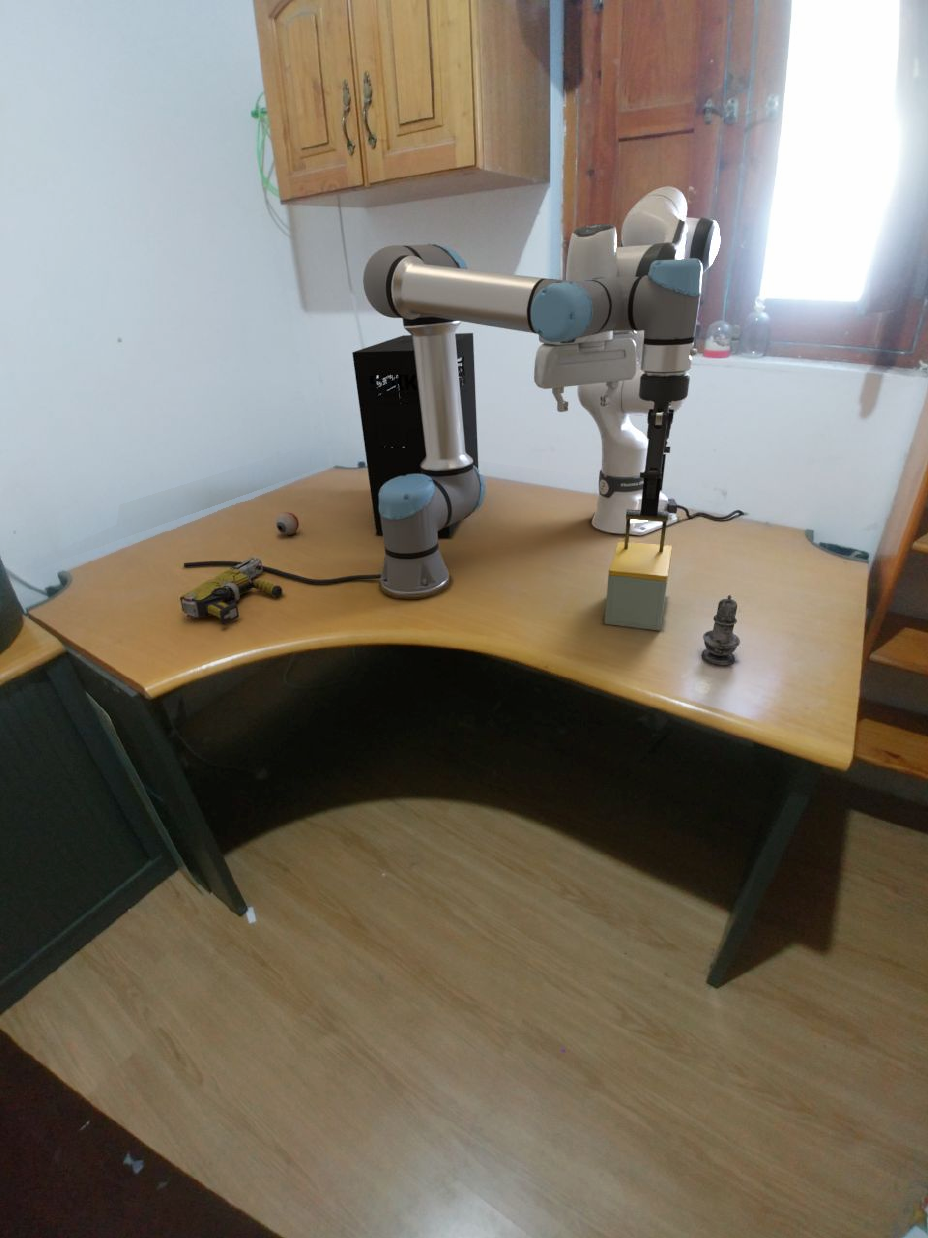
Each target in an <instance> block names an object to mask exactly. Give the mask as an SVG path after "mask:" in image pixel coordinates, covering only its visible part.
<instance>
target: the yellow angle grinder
mask: <svg viewBox="0 0 928 1238" xmlns="http://www.w3.org/2000/svg"><path fill="white" fill-rule="evenodd" d="M241 562H242V563H240V564H238V565H234V566H231V567H230V568H228V569H226V570H225V571H223V572H221V573H219V574H217V575H216V576H213V577H212V578H210V579H208V580H206V581H205V582H203V583H202V584H200V585H198V586H197V587H195V588H192V589H191V590H189V591H187V592H186V593H183V594H182V595H181V596H180V597H179V601H180V606H181V611H182V612H183V614H184V615H186V617H187V618H191V619H195V618H206V617H210V616H214V617H217V618H218V619H220V622H221V625H227V624H228V623H230V622H233V621H234V620H236V619H238V618H239V617H240V613H239V608H238V607H239V606H238V601H239V600H240V598H241V595H243V594H245V593H247V592H249V591H251V590H253V589H255V590H257V591H258V590H259V591H260V592H263V593H266V594H267V595H272V596H273V597H275V598H278V597H280V596H281V595H283V587H282V586H281V585H276V584H274V583H270V582H268V581H266V580H262V579H260V578H256V577H257V576H258V575H260V574H262V573H263V572H264V570H262V566H263V563H262V559H261V558H258V557H256V558H255V557H253V556H250V557H248V558H247V559H245V560H243V561H241ZM258 565H261V569H257V568H256V566H258ZM253 578H256V579H254V580H253V581H251V580H252V579H253Z"/></svg>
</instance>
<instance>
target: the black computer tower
mask: <svg viewBox="0 0 928 1238" xmlns="http://www.w3.org/2000/svg"><path fill="white" fill-rule="evenodd" d="M455 338H456V350H457V361H458V373H459V385H460V396H461V408H462V420H463V431H464V443H465V452H466V454H468V455H469V456H470V457H471V458H472V459H473V465H474V466H475V467H476V468H477V469H478V470H479V450H478V449H479V445H478V424H477V423H478V422H477V421H478V419H477V398H476V397H477V396H476V374H475V373H476V372H475V371H476V370H475V346H474V333H473V332H462V333H455ZM351 354H352V361H353V367H354V376H355V384H356V391H357V399H358V406H359V407H358V408H359V415H360V421H361V428H362V436H363V444H364V452H365V458H366V459H365V461H366V466H367V474H368V481H369V489H370V496H371V503H372V504H371V505H372V511H373V518H374V519H373V520H374V527H375V535H376V536H383V532H382V525H381V518H380V513H379V491H380V489H381V487H382V486H383V485H384V484H385V483H386V482H388V481H389V480H391V479H393V478H396V477H398V476H406V475H407V474H421V463H422V461H423V460H424V459H425V458H426V449H425V440H424V432H423V423H422V415H421V406H420V398H419V389H418V380H417V372H416V363H415V355H414V346H413V338H412V335H411V334H407V335H406V334H405V335H404V334H403V335H399V336H397V337H395V338H391V339H388V340H386V341H382V342H380V343H376V344H373V345H370V346H367V347H364V348H361V349H358V350H355V351H352V352H351ZM479 471H480V470H479ZM461 521H462V520H459V521H457V522H455V523H453V524H451V525H449V526H447V527H445V528H443V529H441V530H439V531H438V532H437V534H438V538H446V539H447V538H448V539H450V538H451V536H452V535H453V533H454V532H455V530H456V528H457V527H458V525H459V524H460V523H461Z"/></svg>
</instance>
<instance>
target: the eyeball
mask: <svg viewBox="0 0 928 1238" xmlns="http://www.w3.org/2000/svg"><path fill="white" fill-rule="evenodd" d="M299 525H300V522H299V519H298V517H297V516H296V515H295V514H294V513H292V512H287V511H286V512H282V513H280V514H279V515H278V516H277V517H276V520H275V527H276V529H277V530H278V531H279V532H280V533H281V534H282V535H285V536H286V535H287V536H289V535H293V534H295V533H296V532H297V531H298V529H299Z"/></svg>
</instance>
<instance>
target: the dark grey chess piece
mask: <svg viewBox="0 0 928 1238" xmlns="http://www.w3.org/2000/svg"><path fill="white" fill-rule="evenodd" d="M737 610H738V603H737V602H736V600H735V599H732V595H731V594H729V595H728V596H727V598H723V599H720V601H719V602H718V605H717V610H716V615H714V616H713V622H714V624H713V628H712V629H711V630H707V631H705V633H703V635H702V639H703V642H704V646H705V649H703V650H702V652H701V656H702V658H703V659H704V660H705V661H706V662H708V663H710V664H714V665H718V666H727V665H731V664H732V663H734V661H735V659H736V657H735V654H733V653H734V652H735V651H736V650H737V648H738V647H739V646H740V644H741V639H740V638H739V636H737V635H736V634H734V628H735V625H736V624H737V623H738V620H737V618H736V615H737Z"/></svg>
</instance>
